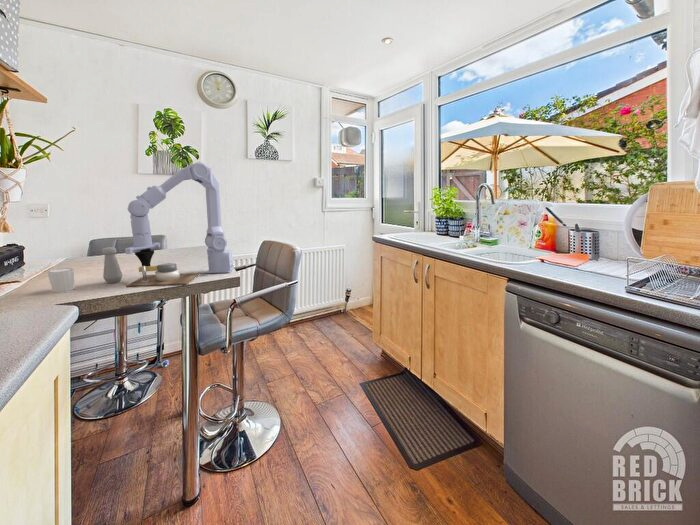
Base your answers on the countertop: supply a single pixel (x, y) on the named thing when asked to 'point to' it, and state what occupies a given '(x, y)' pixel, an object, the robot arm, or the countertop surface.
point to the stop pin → (144, 275)
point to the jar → (167, 275)
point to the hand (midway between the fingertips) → (146, 269)
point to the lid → (161, 268)
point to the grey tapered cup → (62, 279)
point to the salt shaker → (111, 266)
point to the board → (182, 280)
